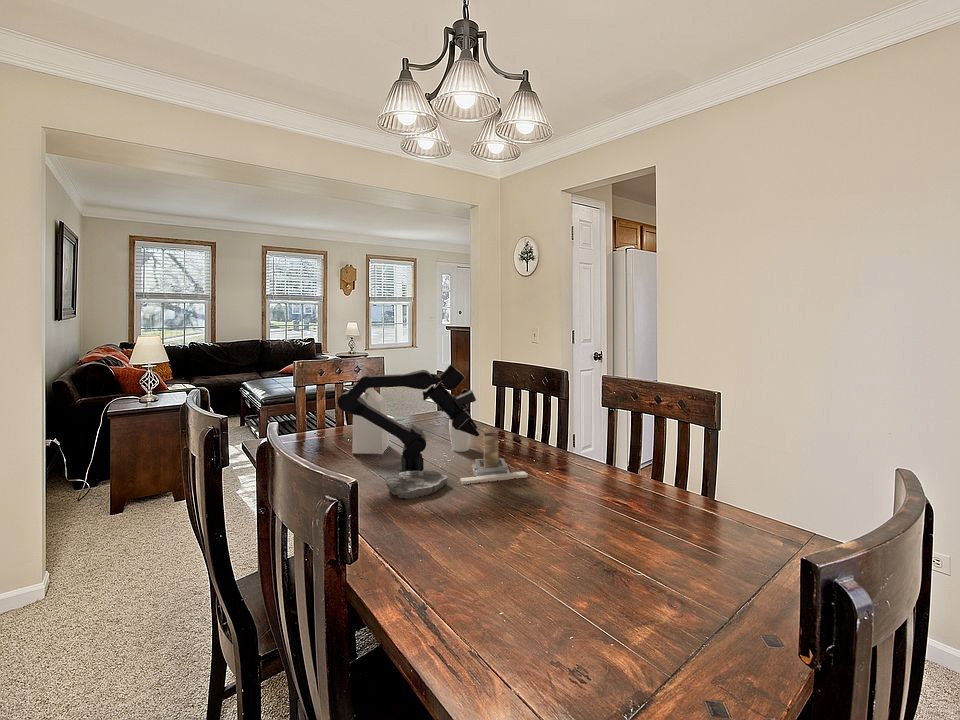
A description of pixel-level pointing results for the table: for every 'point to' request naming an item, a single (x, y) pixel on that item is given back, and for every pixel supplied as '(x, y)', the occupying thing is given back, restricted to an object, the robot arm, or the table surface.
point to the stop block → (490, 448)
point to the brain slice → (415, 483)
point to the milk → (370, 427)
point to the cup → (459, 439)
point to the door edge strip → (493, 477)
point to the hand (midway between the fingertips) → (477, 431)
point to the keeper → (489, 468)
